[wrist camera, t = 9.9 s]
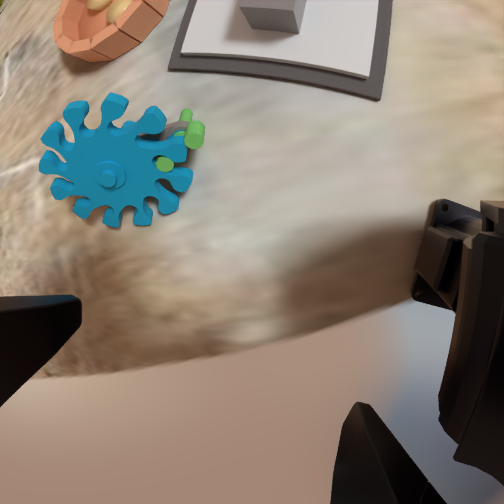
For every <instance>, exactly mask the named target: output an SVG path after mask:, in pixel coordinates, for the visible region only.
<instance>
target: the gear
mask: <svg viewBox="0 0 504 504" xmlns="http://www.w3.org/2000/svg"><path fill="white" fill-rule="evenodd" d="M128 103H129V101H128V99H126V98H125V97H123V96H121V95H118V94H114V93H109V94H108V96H107V97H106V98H105V100H104V101H103V103H102V105H101V112H102V120H101V124H100V126H99V127H98V128H97V129H95V130H90V129H88V128H87V127H86V126H85V125H84V119H85V117H86V115H87V114H88V112H89V104H88V102H87V101H75V102H72V103H69V104H68V106H67V107H66V108H65V109H64V111H63V117H64V119H65V121H66V122H67V123H68V124H69V126H70V127H71V129H72V131H73V134H74V138H75V143H70V142H68V141H67V140H66V139H65V134H64V127H63V126H62V124H61V123H59V122H57V121H56V122H54V123H52V124H51V125H50V126H49V127H48V129H47V130H46V131H45V133H44V134H43V136H42V137H41V138H40V139H41V141H42V142H43V144H45V145H46V146H49V147H51V148H53V149H55V150H56V151H58V152H59V153H60V154H61V155H62V156H63V158H64V159H65V161H66V162H67V163H64V162H62V161H61V160H60V159H59V158H58V156H57V155H56V154H55V153H54V152H53V151H50V150H46V152H45V153H44V155H43V157H42V158H41V160H40V163H39V171H40V172H41V173H43V174H56V175H60V176H62V177H64V178H66V179H68V180H70V181H71V182H73V183H71V182H69V181H67V180H65V179H63V178H55V179H54V181H53V183H52V185H51V187H50V190H51V193H52V195H53V197H54V198H55V199H56V200H62V199H64V198H66V197H68V196H72V195H79V196H85V197H88V198H78V199H77V200H76V202H75V205H74V207H73V211H74V213H75V214H77V215H78V216H79V217H81V218H82V219H86V218H88V217H89V215H90V213H91V211H92V210H93V209H95V208H97V207H100V206H103V205H108V206H110V208H107V209H106V210H105V213H104V216H103V220H102V222H103V223H104V224H105V225H108V226H111V227H115V228H117V227H119V225H120V222H121V218H122V213H121V210H122V209H123V208H124V207H125V206H127V205H132V206H134V207H136V209H135V213H134V217H133V222H134V224H135V225H151V221H152V216H153V211H152V210H151V209H150V208H149V206H148V205H147V203H146V201H145V197H147V196H153V197H156V198H157V199H158V201H159V205H158V209H159V211H160V212H161V213H162V214H169V213H172V212H174V211H175V210H177V209H178V206H179V197H178V196H177V195H176V194H174V193H172V192H170V191H168V190H166V189H165V188H164V187H163V186H162V185H161V184H160V182H159V181H158V179H159V178H164V179H167V180H168V181H169V182H170V183H171V185H172V187H173V188H174V189H175V190H176V191H178V192H185V191H186V190H187V189H188V188H189V186H190V185H191V182H192V178H193V171H192V170H191V169H189V168H185V167H174V162H184V161H186V158H187V151H188V148H191V149H197V148H200V147H201V146H202V145H203V142H204V133H205V126H204V124H203V123H201V122H199V121H192V122H191V119H192V114H193V113H192V111H191V110H190V109H184V110H183V111H182V113H181V117H180V121H178V122H174V123H171V124H167V125H166V121H167V119H166V117H165V115H164V114H163V113H162V111H161V110H160V109H159V108H158V107H157V106H151V107H149V108H148V109H147V110H146V111H145V113H144V115H143V116H142V117H141V119H139V120H138V121H137V122H136V123H134V122H133V121H126V122H125V123H124V124H123V126H122V128H117V127H115V126H114V125H113V124H112V122H111V121H113V120H116V119H118V118H120V117H121V116H122V115H123V114H124V112H125V110H126V108H127V106H128ZM157 155H158V158H156V157H155V156H157Z"/></svg>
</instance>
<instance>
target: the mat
mask: <svg viewBox="0 0 504 504" xmlns="http://www.w3.org/2000/svg"><path fill="white" fill-rule="evenodd" d="M392 1H393V0H379V1H378V11H377V21H376V29H375V37H374V45H373V52H372V60H371V66H370V73H369V78H368V80H367V79H363V78H359V77H355V76H351V75H347V74H343V73H338V72H333V71H329V70H324V69H318V68H313V67H307V66H302V65H295V64H289V63H282V62H274V61H266V60H257V59H247V58H236V57H221V56H195V55H183V54H182V53H181V50H182V46H183V43H184V40H185V36H186V33H187V30H188V27H189V23H190V20H191V17H192V14H193V11H194V8H195V5H196V2H197V0H189V2H188V5H187V8H186V11H185V14H184V17H183V20H182V23H181V26H180V29H179V32H178V35H177V38H176V42H175V45H174V48H173V52H172V55H171V59H170V62H169V66H168V69H170V70H195V71H213V72H226V73H237V74H247V75H255V76H263V77H271V78H277V79H284V80H290V81H296V82H302V83H307V84H312V85H318V86H322V87H327V88H332V89H336V90H341V91H345V92H349V93H353V94H357V95H361V96H365V97H369V98H372V99H376V100H379V101H380V99H381V95H382V88H383V82H384V75H385V68H386V60H387V52H388V44H389V35H390V25H391V14H392Z"/></svg>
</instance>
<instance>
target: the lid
mask: <svg viewBox="0 0 504 504" xmlns="http://www.w3.org/2000/svg"><path fill="white" fill-rule="evenodd" d="M378 1H379V0H197V2H196V5H195V8H194V11H193V14H192V17H191V20H190V23H189V27H188V30H187V33H186V36H185V40H184V43H183V46H182V50H181V53H182V54H183V55H195V56H221V57H236V58H247V59H257V60H266V61H274V62H282V63H289V64H295V65H302V66H307V67H313V68H318V69H324V70H329V71H333V72H338V73H343V74H347V75H351V76H355V77H359V78H363V79H367V80H368V78H369V73H370V66H371V60H372V52H373V45H374V37H375V29H376V21H377V11H378Z"/></svg>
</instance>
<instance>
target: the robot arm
mask: <svg viewBox="0 0 504 504" xmlns="http://www.w3.org/2000/svg"><path fill="white" fill-rule="evenodd" d="M444 203H445V204H446V210H445V211H442V209H441V206H442V204H444ZM415 269H416V271H417V273H416V276H415V279H414V282H413V285H412V287H411V291H410V294H411V296H412V298H413V299H414V300H415V301H418V302H423V303H426V304H430V305H433V306H438V307H442V308H445V309H449V310H452V311H453V312H454V313H455V314H456V316H455V322H454V328H453V333H452V339H451V344H450V349H449V354H448V358H447V363H446V367H445V371H444V375H443V380H442V383H441V387H440V391H439V394H438V401H439V411H440V415H439V418H438V419H439V422H440V424H441V426H442V427H443V429H444V431H445V432H446V433H447V434H448V435H449V436H450V437H451V438H452V439H453V440H454V441H455V442H456V443H457V444H458V447H457V449H456V452H455V454H454V456H453V459H454V460H455V461H457V462H460V463H464V464H467V465H471V466H474V467H477V468H479V469H480V470H482V471H484V472H486V473H488V474H490V475H492V476H493V477H494V478H495V479H497V480H498V481H499V482H500V483H501V484H502V485H503V486H504V201H482V200H481V201H480V212H479V211H476V210H474V209H471V208H469V207H466V206H463V205H461V204H458V203H455V202H453V201H450V200H447V199H440V200H438V201H437V203H436V206H435V210H434V214H433V218H432V222H431V226H429V227H428V228H426V230H425V233H424V237H423V240H422V244H421V247H420V250H419V254H418V257H417V260H416V263H415ZM417 290H421V293H420V294H419V295H415V293H416V291H417ZM81 323H82V302H81V300H80V299H79V298H77V297H75V296H73V295H45V296H5V297H0V407H1V406H2V405H3V404H4V403H5V402H6V401H7V400H8V399H9V398H10V397H11V396H12V395H13V394H14V393H15V392H16V391H17V390H18V389H19V388H20V387H21V386H22V385H23V384H24V383H25V382H27V381H28V380H29V379H30V378H31V377H32V376H33V375H34V374H35V373H36V372H37V371H38V370H39V369H40V368H41V367H42V366H43V365H45V364H46V363H47V362H48V361H49V360H50V359H51V358H52V357H53V356H54V355H55V354H56V353H57V352H58V351H59V350H60V349H61V347H62V346H63V345H64V344H65V343H66V342H67V341H68V339H69V338H70V337H71V336H72V335H73V334H74V333H75V332H76V331H77V329H78V328H79V327H80V325H81ZM330 504H447V503H446V502H445V501H444V500H443V498H442V497H441V496H440V495H439V494H438V492H437V491H436V490H435V488H434V487H433V486H432V485H431V483H430V482H428V480H427V478H426V477H425V476H424V474H423V473H422V472H421V470H420V469H419V468H418V466H417V465H416V464H415V463H414V461H413V460H412V459H411V457H409V455H408V454H407V452H406V451H405V450H404V449H403V447H402V446H401V444H400V443H399V442H398V440H397V439H396V438H395V437H394V435H393V434H392V433H391V431H390V430H389V429H388V427H387V426H386V425H385V424H384V422H383V421H382V420H381V418H380V417H379V416H378V414H377V413H376V412H375V411H374V409H373V408H372V407H371V406H370V405H369V404H366V403H362V402H356V403H355V404H354V405H353V407H352V409H351V411H350V412H349V414H348V416H347V418H346V419H345V421H344V423H343V426H342V430H341V435H340V441H339V446H338V451H337V456H336V461H335V466H334V472H333V480H332V492H331V501H330Z"/></svg>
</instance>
